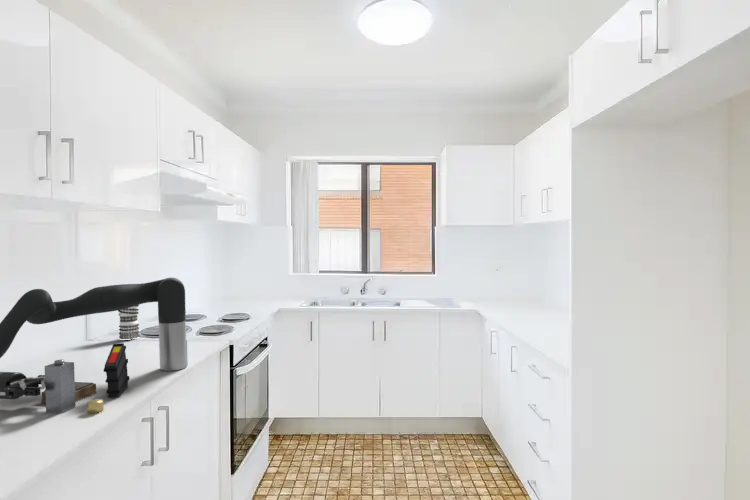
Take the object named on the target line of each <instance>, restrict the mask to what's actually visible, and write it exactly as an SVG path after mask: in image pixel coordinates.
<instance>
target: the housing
mask: <svg viewBox="0 0 750 500" xmlns="http://www.w3.org/2000/svg"><path fill="white" fill-rule="evenodd" d="M44 375H45V388H44V391H45V392H46V402H45V412H46V413H49V414H50V413H51V414H64V413H66V412H68V411H70V410H73V409H74V408H76V402H75V382H76V380H75V379H76V378H75V362H74V361H65V359H56V360H54V363H51V364H48V365H44Z"/></svg>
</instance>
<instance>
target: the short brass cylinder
mask: <svg viewBox="0 0 750 500" xmlns="http://www.w3.org/2000/svg"><path fill="white" fill-rule="evenodd" d="M104 407H105V406H104V399H103V398H95V399H90V400H88V401H86V414H87V413H88V415H96V414H95V413H98V414H100V413H99V412H101V413H102V411H103V410H104V411H105V409H104ZM104 411H103V412H104Z"/></svg>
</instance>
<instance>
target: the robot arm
mask: <svg viewBox="0 0 750 500" xmlns="http://www.w3.org/2000/svg"><path fill="white" fill-rule="evenodd" d="M185 288H186V287H185V285H184V283H183V281H181V280H180V279H178V278H176V277H167V278H163V279H159V280H154V281H150V282H149V281H148V282H145V283H143V282H142V283H128V284H126V283H123V284H113V285H104V286H98V287H94V288H91V289H89V290H87V291H85V292H84V293H82V294H80V295H78V296H77V297H75V298H72V299H68V300H61V301H53V298H52V296H51V294H50V293H49V292H48V291H47V290H45V289H43V288H34V289H31V290H28V291H26V292H25V293H24V294H23V295H22V296H21V297H20V298H19V299H18V300H17V301H16V303H15V304H14V305H13V307H12V308H11V309H10V311H8V312H7V314H6V315H5V317H4V318H3V319H2V321H0V359H1V358H2V357H4V355H5V354H6V352H7V351H8V350H9V348H10V347H11V346H12V343H14V340H15V338H16V336H17V334H18V333H19V331H20V330H21V328H22V327H23V325H24V324H25V323H26V322H27V323H29V324H33V325H43V324H49V323H53V322H58V321H62V320H65V319H72V318H77V317H82V316H88V315H95V314H102V313H109V312H111V313H112V312H116V311H118V310H122V309H126V308H130V307H133V306H136V305H139V306H140V305H142V304H149V303H157V315H158V342H159V343H158V347H159V349H158V350H159V370H160V371H164V372H166V371H167V372H168V371H169V372H170V371H178V370H184V369H185V368H187V367H188V363H189V362H188V361H189V360H188V340H187V329H186V328H187V327H186V325H187V324H186V313H187V312H186V289H185ZM41 390H45V374H39V375H38V376H37V377H33V376H30V377H29V376H28V377H27V376H26V375H25V374H24V373H22V372H19V371H18V372H17V371H16V372H15V371H0V400H18V399H20V398H25V397H38V396H40V395H41Z"/></svg>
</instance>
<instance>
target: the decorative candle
mask: <svg viewBox="0 0 750 500" xmlns="http://www.w3.org/2000/svg"><path fill="white" fill-rule="evenodd" d="M139 306H140V304H139V305H136V306H133V307H130V308H126V309H122V310H117V311H118V316H119V325H118V327H119V329H118V331H119V333H118V334H119V337H118V338H119V340H120V339H133V338H137V337H139V336H140V334H139V333H140V331H139V329H140V327H139V326H140V324H139V320H138V315H139V311H140V310H139V309H138V307H139Z"/></svg>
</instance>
